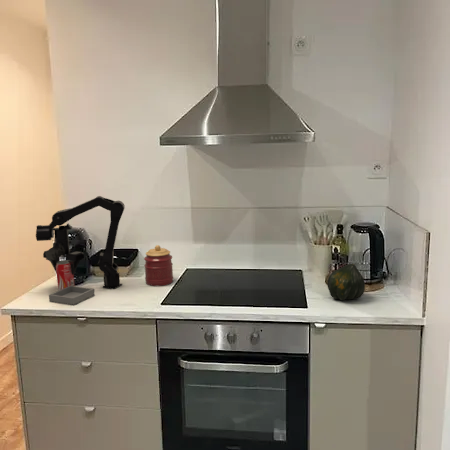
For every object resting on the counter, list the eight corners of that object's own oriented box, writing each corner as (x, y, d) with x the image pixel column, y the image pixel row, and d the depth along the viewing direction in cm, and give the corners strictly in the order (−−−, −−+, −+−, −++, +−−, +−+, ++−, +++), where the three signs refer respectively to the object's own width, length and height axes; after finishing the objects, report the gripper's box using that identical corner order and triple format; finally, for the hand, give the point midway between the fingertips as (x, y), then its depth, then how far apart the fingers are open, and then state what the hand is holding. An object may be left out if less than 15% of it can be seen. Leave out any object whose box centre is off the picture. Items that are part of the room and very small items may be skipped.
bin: (94, 295, 205) (94, 288, 204) (73, 305, 193) (73, 298, 193) (71, 292, 210) (70, 285, 210) (49, 301, 199) (48, 294, 198)
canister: (161, 288, 213) (159, 249, 209) (139, 284, 219) (137, 246, 216) (179, 280, 223) (177, 243, 220) (157, 276, 230) (155, 241, 227)
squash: (314, 284, 195) (337, 261, 186) (334, 277, 205) (356, 255, 197) (336, 312, 189) (360, 290, 180) (355, 304, 199) (379, 282, 191)
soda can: (77, 287, 217) (74, 259, 215) (70, 292, 210) (68, 263, 208) (62, 287, 218) (59, 259, 215) (55, 292, 211) (52, 263, 208)
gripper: (32, 242, 206) (35, 276, 209) (65, 245, 199) (68, 280, 202) (51, 236, 216) (54, 269, 219) (83, 239, 209) (86, 273, 212)
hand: (65, 273), depth 213 cm, fingers open, 9 cm apart
